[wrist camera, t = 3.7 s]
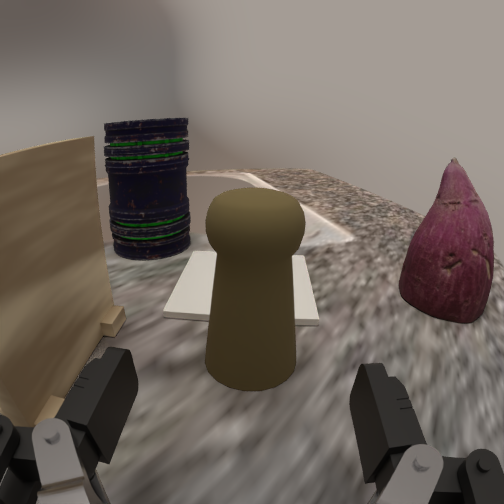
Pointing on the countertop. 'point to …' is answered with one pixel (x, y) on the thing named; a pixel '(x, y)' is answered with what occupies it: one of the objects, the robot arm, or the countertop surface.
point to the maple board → (50, 276)
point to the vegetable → (451, 253)
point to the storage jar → (148, 187)
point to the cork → (253, 287)
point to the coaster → (201, 285)
